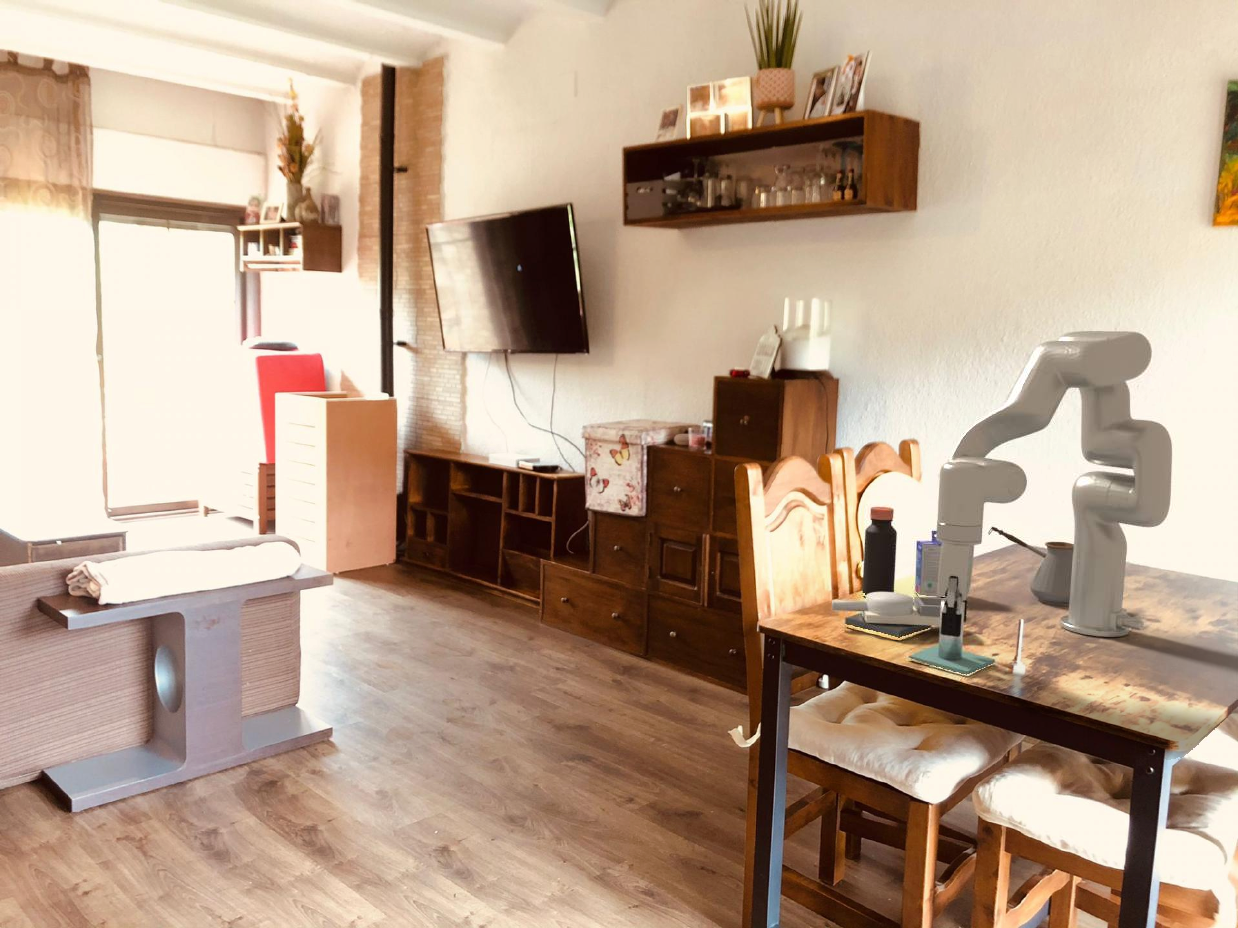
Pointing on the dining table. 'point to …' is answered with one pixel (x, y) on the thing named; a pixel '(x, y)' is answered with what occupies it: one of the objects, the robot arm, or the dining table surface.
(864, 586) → the bottle
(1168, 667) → the dining table surface
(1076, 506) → the robot arm
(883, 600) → the white handled tool
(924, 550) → the ink cartridge box
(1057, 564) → the coffee pot
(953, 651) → the grey piece
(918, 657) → the key mat
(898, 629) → the dark gray sponge cloth
